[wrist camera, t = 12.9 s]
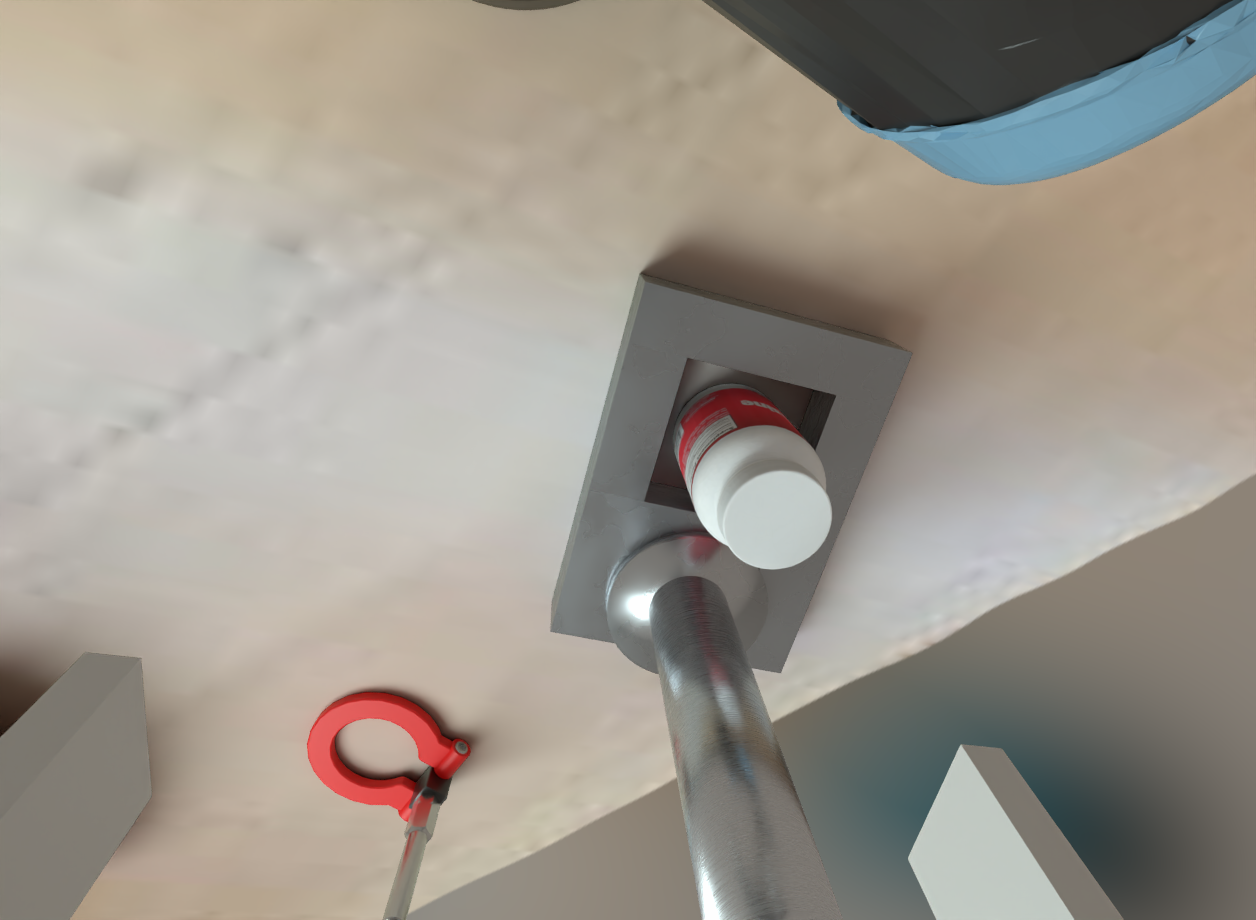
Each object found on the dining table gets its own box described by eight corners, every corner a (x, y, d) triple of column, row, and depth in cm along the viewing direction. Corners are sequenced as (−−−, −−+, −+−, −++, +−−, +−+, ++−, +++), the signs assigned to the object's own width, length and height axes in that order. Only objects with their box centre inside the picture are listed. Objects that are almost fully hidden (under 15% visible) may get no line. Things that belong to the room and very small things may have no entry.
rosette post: (639, 273, 37) (734, 412, 16) (888, 340, 39) (1269, 541, 18) (548, 616, 44) (526, 1033, 23) (762, 655, 46) (927, 1069, 25)
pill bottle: (801, 435, 41) (879, 523, 31) (718, 504, 42) (766, 611, 32) (733, 356, 39) (791, 423, 29) (648, 431, 40) (675, 520, 30)
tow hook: (289, 753, 47) (413, 817, 49) (182, 946, 35) (352, 1019, 37) (356, 664, 45) (481, 735, 47) (266, 836, 33) (441, 920, 35)
